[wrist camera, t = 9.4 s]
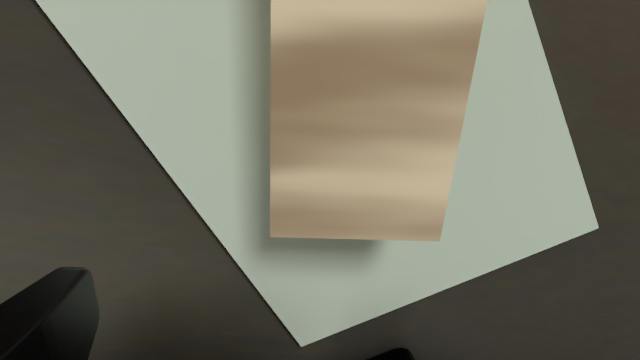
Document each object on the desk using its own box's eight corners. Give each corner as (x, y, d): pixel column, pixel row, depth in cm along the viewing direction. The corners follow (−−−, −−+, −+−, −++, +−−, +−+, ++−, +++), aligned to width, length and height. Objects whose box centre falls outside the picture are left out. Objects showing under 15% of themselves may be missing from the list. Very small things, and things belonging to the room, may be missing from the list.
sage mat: (591, 219, 22) (598, 227, 21) (301, 337, 25) (301, 346, 24) (407, -363, 13) (411, -374, 12) (-11, -75, 16) (-21, -74, 15)
